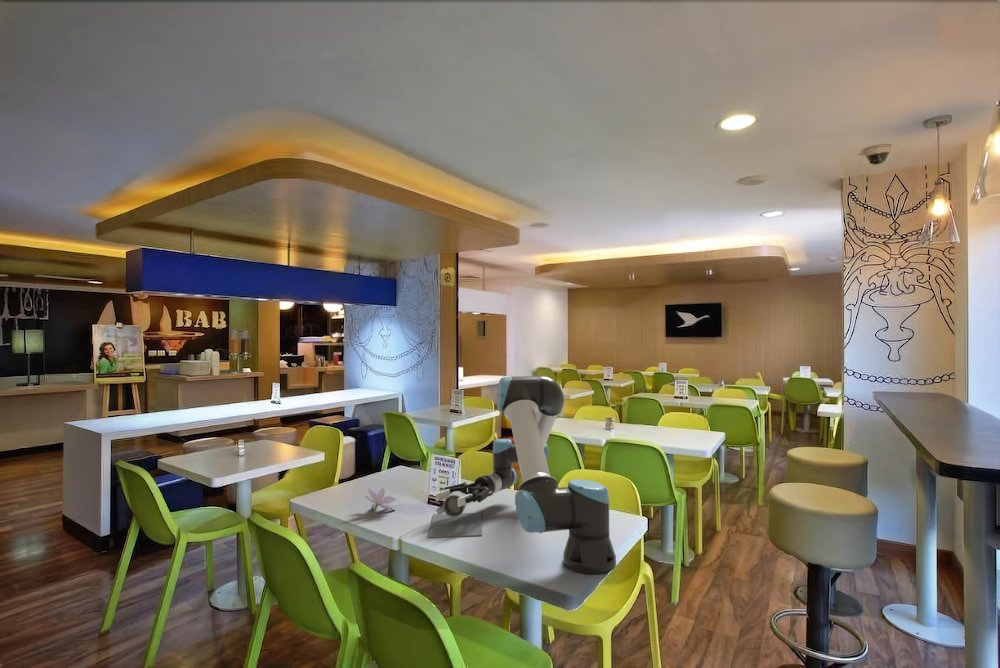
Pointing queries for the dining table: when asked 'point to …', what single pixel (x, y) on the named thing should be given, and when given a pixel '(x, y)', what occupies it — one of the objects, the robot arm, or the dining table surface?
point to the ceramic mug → (452, 505)
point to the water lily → (380, 499)
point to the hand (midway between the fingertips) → (447, 500)
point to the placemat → (455, 525)
